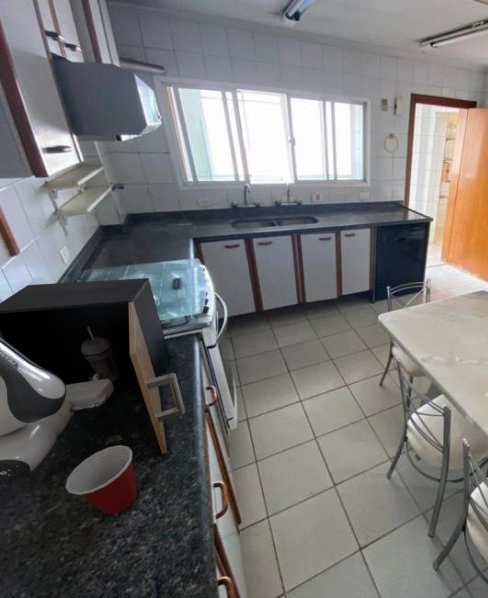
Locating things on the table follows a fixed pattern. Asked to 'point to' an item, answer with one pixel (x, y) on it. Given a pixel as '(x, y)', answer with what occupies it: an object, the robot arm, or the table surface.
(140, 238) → the table surface
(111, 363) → the beverage cup
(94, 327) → the box
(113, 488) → the plastic cup
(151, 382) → the fridge door
